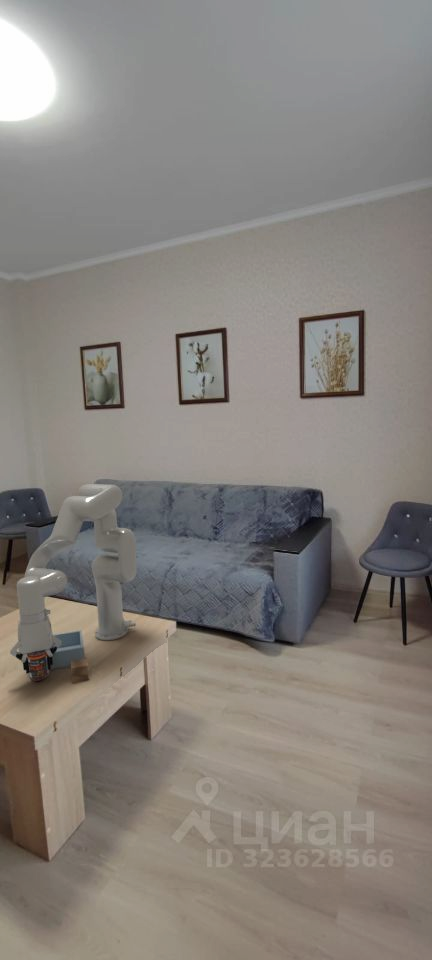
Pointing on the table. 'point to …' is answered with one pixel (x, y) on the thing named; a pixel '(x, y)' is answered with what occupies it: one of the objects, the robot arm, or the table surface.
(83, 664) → the walnut cube
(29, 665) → the supplement bottle
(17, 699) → the table surface
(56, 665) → the tote
